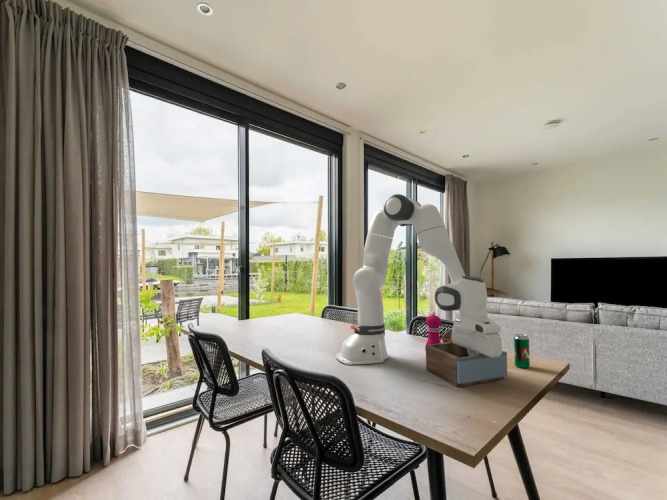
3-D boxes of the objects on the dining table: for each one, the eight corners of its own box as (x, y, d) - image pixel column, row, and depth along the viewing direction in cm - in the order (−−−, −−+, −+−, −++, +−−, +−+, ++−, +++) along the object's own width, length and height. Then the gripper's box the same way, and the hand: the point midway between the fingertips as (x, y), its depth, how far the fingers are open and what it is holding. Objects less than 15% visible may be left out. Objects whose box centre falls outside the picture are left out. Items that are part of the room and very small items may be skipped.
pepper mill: (434, 364, 129) (433, 313, 130) (421, 359, 136) (420, 311, 136) (447, 361, 133) (446, 312, 133) (434, 356, 139) (433, 309, 140)
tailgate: (459, 384, 105) (459, 359, 105) (456, 382, 107) (456, 358, 107) (507, 375, 112) (506, 352, 112) (504, 374, 113) (503, 351, 113)
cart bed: (456, 386, 107) (455, 357, 107) (426, 370, 123) (425, 344, 123) (504, 378, 113) (503, 351, 113) (469, 363, 129) (468, 339, 129)
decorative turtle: (460, 344, 157) (460, 327, 157) (467, 353, 142) (467, 335, 142) (439, 343, 159) (439, 327, 159) (444, 353, 144) (444, 334, 144)
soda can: (517, 363, 128) (516, 333, 128) (531, 366, 125) (530, 335, 125) (512, 366, 125) (512, 335, 125) (527, 370, 121) (526, 337, 121)
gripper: (446, 318, 122) (448, 355, 121) (489, 329, 102) (490, 374, 102) (460, 317, 124) (461, 353, 123) (504, 328, 104) (506, 371, 104)
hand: (475, 363), depth 113 cm, fingers closed
